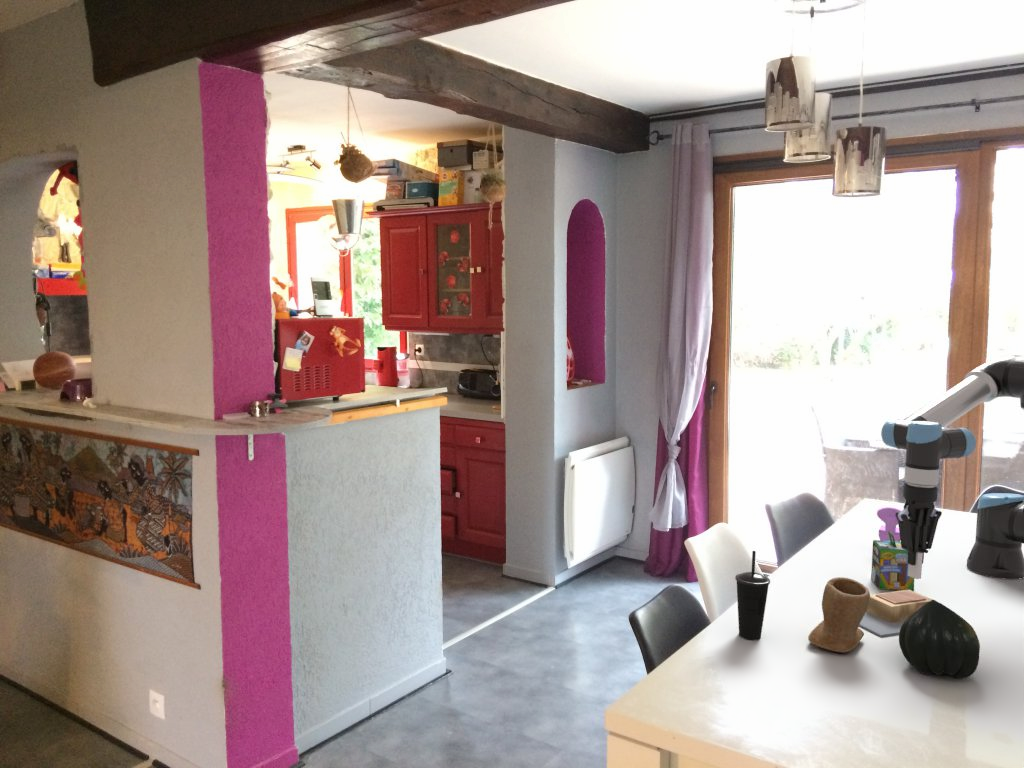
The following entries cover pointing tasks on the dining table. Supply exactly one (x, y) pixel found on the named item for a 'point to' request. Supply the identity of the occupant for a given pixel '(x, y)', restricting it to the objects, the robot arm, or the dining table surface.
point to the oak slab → (896, 605)
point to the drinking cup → (751, 602)
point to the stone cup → (841, 615)
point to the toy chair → (888, 523)
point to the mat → (880, 625)
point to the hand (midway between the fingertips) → (914, 576)
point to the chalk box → (890, 565)
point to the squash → (939, 641)
